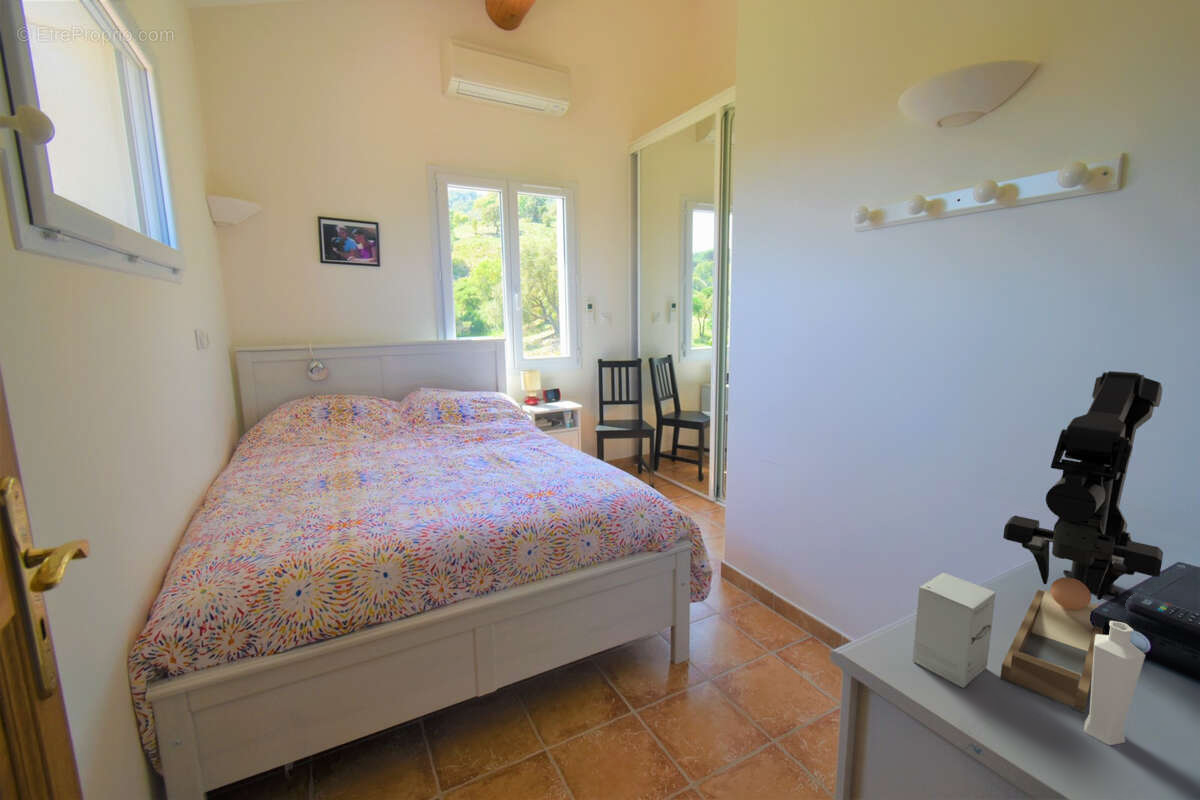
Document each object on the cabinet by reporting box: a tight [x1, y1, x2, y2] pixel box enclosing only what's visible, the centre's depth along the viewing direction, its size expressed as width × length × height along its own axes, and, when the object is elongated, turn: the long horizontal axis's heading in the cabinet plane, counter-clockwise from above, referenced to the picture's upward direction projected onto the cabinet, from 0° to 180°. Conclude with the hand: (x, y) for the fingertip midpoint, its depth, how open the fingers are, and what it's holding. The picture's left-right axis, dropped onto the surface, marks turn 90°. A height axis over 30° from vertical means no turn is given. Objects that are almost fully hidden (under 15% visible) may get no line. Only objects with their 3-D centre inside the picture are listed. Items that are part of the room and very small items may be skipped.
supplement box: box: [912, 572, 996, 689], centre depth 78 cm, size 7×7×13 cm
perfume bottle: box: [1083, 620, 1146, 746], centre depth 65 cm, size 5×4×15 cm
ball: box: [1050, 576, 1092, 610], centre depth 87 cm, size 5×5×5 cm
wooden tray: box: [999, 589, 1104, 714], centre depth 81 cm, size 27×9×5 cm, turn 132°
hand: (1071, 590), depth 88 cm, fingers open, 6 cm apart
